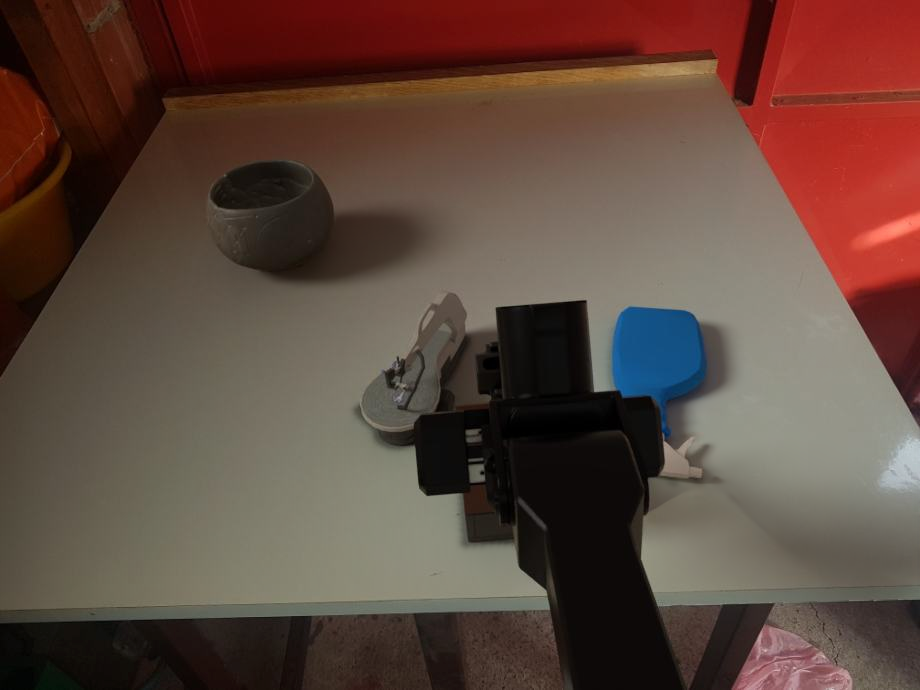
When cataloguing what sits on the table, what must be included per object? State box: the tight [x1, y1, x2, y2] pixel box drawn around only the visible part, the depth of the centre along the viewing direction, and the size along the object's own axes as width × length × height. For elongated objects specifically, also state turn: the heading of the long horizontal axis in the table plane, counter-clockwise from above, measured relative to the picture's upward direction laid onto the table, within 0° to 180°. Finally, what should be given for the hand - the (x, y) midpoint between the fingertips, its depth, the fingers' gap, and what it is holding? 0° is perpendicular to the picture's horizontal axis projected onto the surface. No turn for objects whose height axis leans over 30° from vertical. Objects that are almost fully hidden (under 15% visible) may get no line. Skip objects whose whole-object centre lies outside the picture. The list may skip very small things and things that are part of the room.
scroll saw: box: [358, 290, 468, 447], centre depth 80 cm, size 20×11×12 cm
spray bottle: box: [611, 305, 707, 479], centre depth 80 cm, size 3×11×24 cm
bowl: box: [205, 158, 335, 272], centre depth 102 cm, size 18×18×13 cm
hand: (528, 432), depth 62 cm, fingers closed on lid, 5 cm apart
